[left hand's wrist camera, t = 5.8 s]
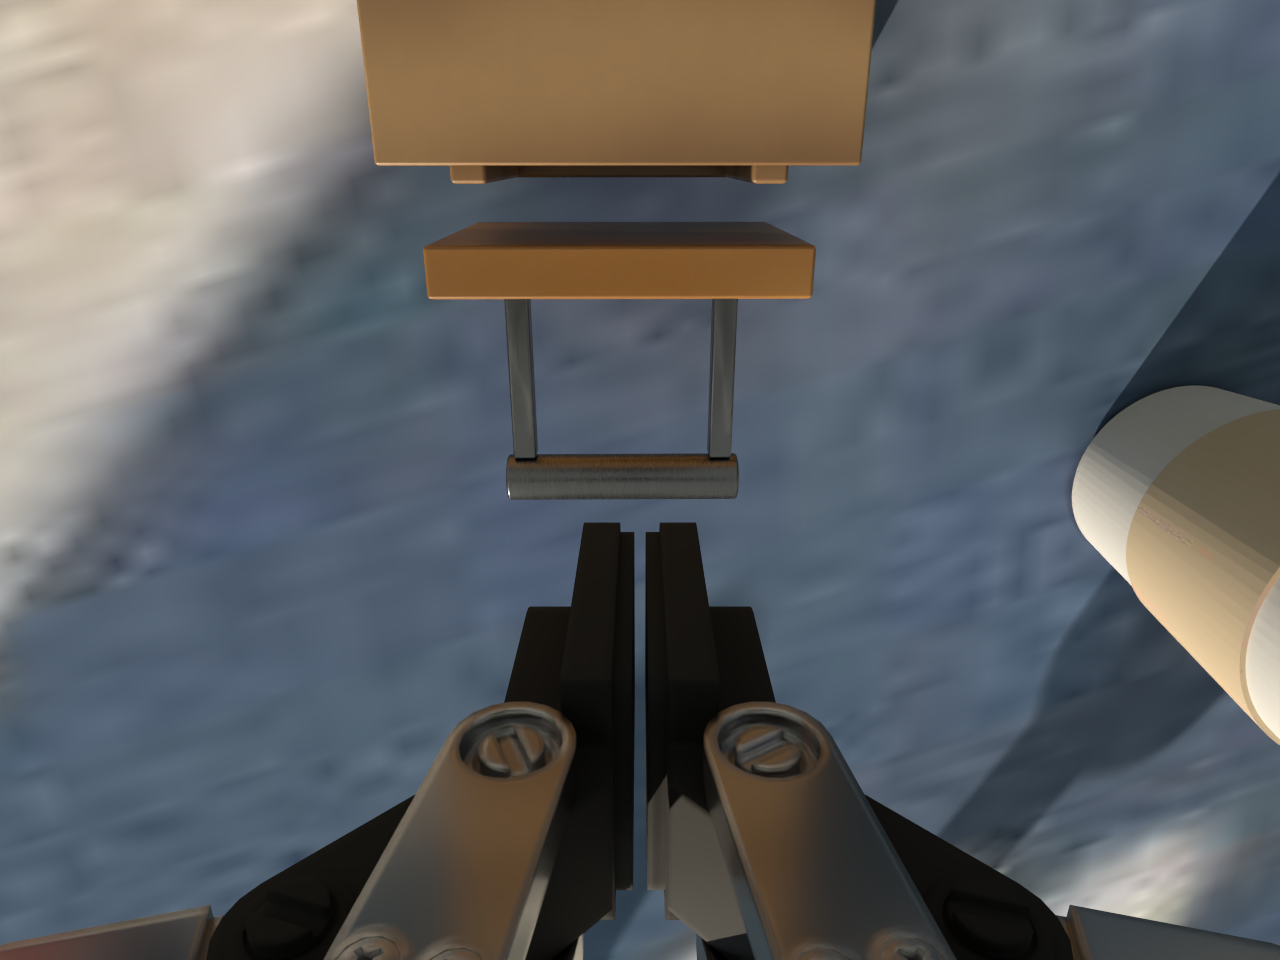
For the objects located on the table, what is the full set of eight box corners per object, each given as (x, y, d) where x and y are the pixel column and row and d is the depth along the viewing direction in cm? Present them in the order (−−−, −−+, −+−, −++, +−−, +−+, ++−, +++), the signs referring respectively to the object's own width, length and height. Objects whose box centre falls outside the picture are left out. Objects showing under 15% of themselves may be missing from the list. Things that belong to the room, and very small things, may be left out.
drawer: (755, 438, 28) (795, 527, 21) (491, 439, 28) (448, 529, 21) (811, -582, 19) (912, -988, 12) (419, -586, 18) (303, -998, 12)
